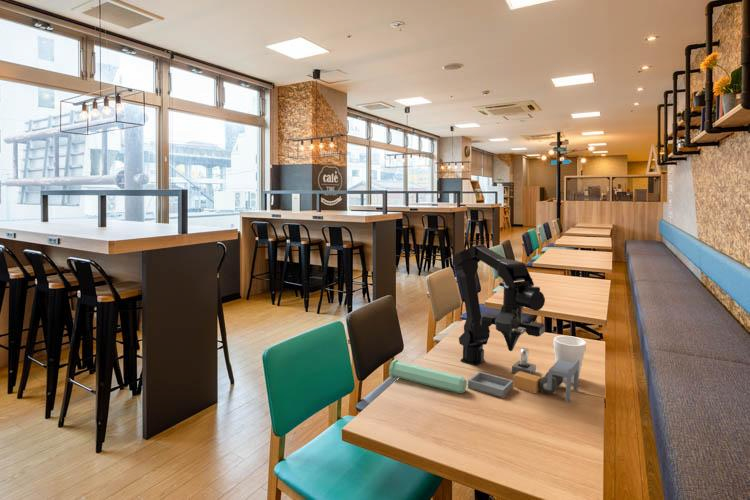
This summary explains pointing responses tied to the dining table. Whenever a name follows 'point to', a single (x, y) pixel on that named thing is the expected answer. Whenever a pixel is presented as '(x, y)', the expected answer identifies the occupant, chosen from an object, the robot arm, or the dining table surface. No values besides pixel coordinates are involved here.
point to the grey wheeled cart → (560, 377)
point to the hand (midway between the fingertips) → (510, 350)
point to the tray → (490, 384)
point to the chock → (526, 382)
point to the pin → (524, 358)
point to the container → (427, 376)
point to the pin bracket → (517, 368)
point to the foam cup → (569, 351)
